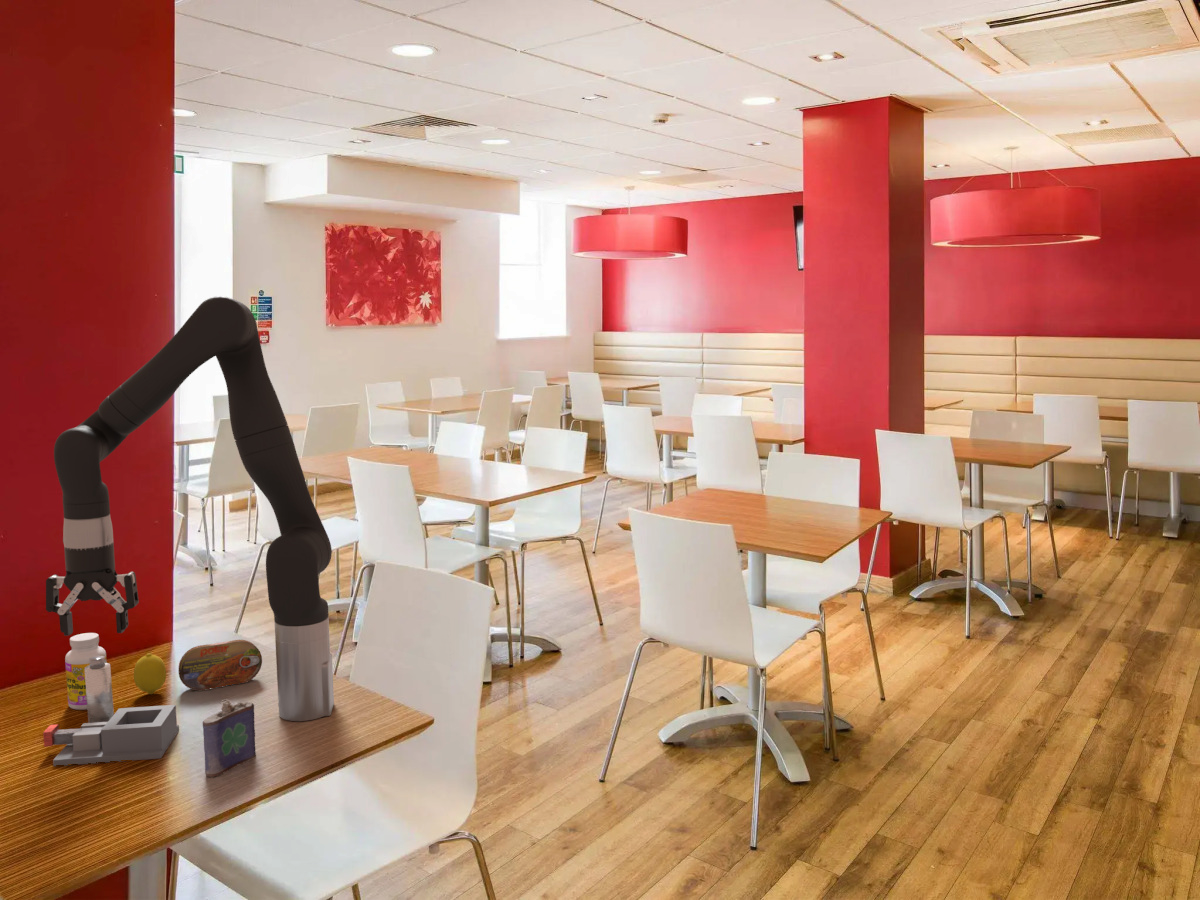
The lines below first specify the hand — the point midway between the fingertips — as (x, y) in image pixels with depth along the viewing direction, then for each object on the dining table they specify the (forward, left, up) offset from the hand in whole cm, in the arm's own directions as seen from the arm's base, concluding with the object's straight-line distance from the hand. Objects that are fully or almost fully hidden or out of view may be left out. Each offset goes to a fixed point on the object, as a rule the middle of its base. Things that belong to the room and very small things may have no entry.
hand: (94, 633), depth 168 cm
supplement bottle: (+5, -9, -16) cm, 19 cm away
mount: (-7, +12, -16) cm, 21 cm away
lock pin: (0, +12, -14) cm, 19 cm away
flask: (-26, +22, -16) cm, 38 cm away
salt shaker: (0, 0, -16) cm, 16 cm away
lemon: (-5, -12, -16) cm, 21 cm away
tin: (-17, -15, -16) cm, 28 cm away
